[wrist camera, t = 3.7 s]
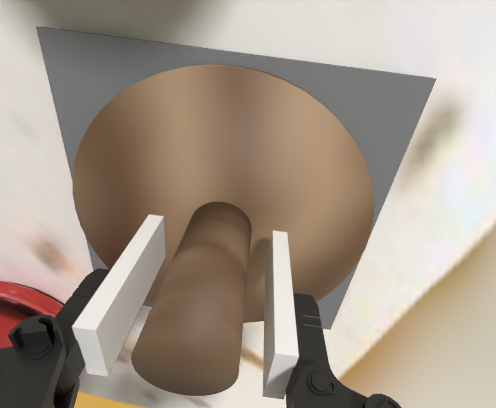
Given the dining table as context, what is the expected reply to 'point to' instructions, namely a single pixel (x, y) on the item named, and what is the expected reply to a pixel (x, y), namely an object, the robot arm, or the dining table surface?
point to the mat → (294, 71)
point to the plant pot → (21, 308)
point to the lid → (220, 206)
